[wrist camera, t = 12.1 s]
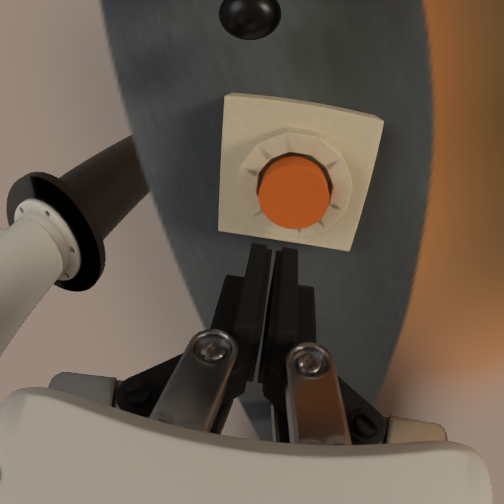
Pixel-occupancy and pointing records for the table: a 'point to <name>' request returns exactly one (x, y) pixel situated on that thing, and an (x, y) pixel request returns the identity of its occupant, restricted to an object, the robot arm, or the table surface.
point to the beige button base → (302, 145)
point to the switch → (250, 18)
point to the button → (294, 193)
